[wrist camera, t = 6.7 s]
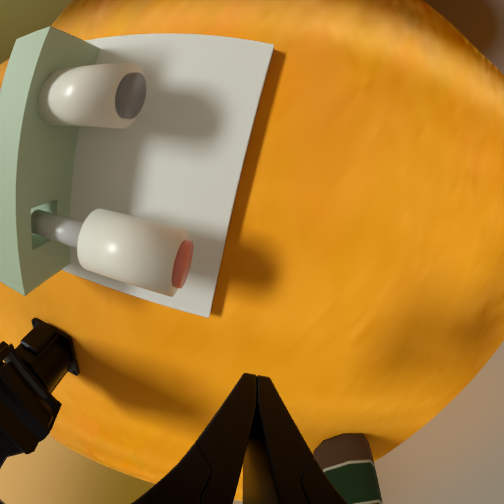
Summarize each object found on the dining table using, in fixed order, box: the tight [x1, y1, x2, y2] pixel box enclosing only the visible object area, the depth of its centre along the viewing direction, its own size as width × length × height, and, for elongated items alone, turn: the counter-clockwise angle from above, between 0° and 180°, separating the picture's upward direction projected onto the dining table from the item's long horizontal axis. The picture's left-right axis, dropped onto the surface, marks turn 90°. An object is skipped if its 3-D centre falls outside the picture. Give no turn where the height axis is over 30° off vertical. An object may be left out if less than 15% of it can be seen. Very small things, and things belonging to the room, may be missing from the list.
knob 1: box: [38, 63, 146, 129], centre depth 12 cm, size 12×4×4 cm, turn 76°
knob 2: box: [31, 208, 194, 297], centre depth 15 cm, size 12×4×4 cm, turn 76°
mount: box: [0, 26, 274, 318], centre depth 14 cm, size 20×18×7 cm
